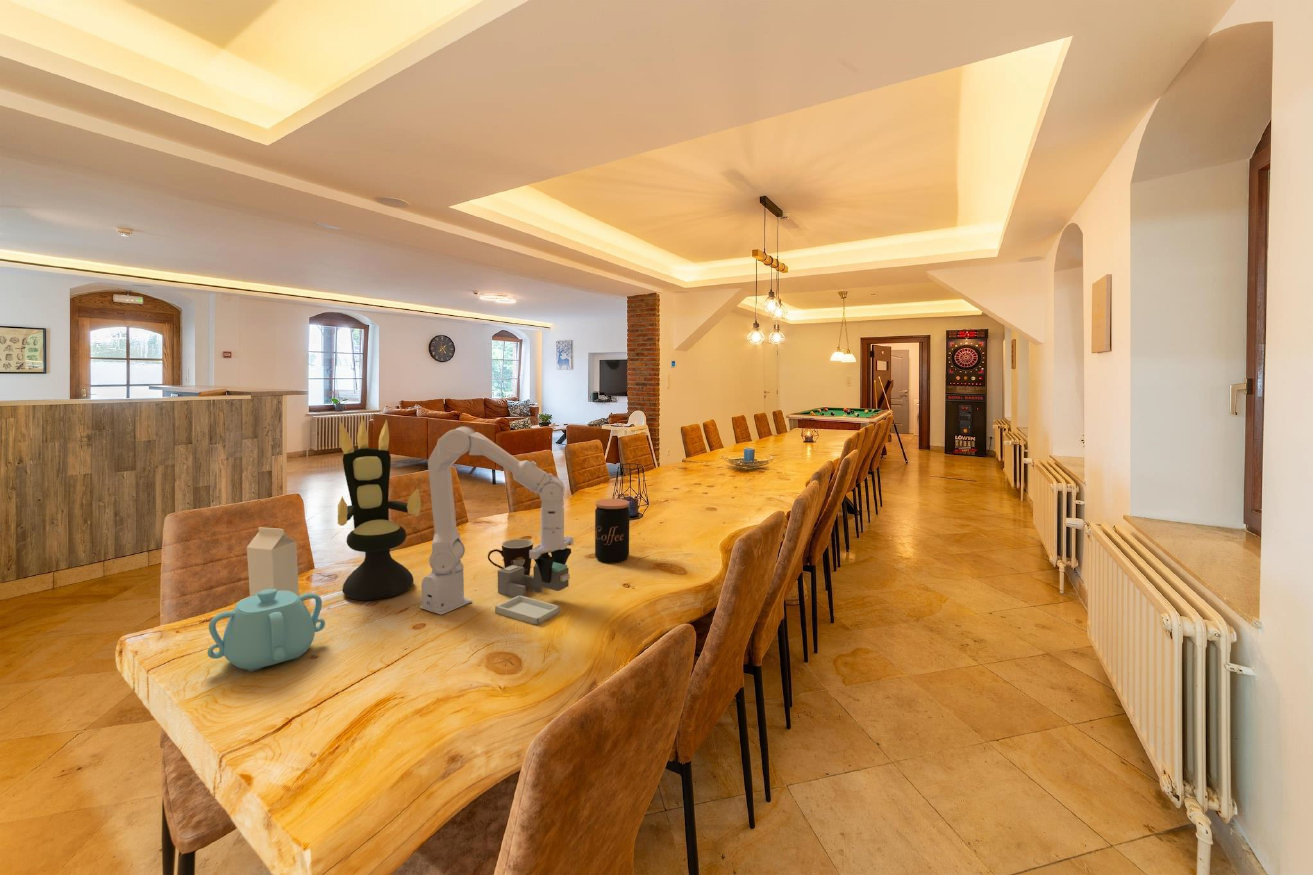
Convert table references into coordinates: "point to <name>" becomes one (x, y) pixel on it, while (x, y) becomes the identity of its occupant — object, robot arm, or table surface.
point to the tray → (527, 609)
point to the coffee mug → (515, 554)
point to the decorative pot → (266, 629)
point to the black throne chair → (373, 518)
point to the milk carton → (272, 562)
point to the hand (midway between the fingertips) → (552, 579)
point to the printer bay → (515, 581)
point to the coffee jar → (612, 530)
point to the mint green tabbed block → (553, 577)
